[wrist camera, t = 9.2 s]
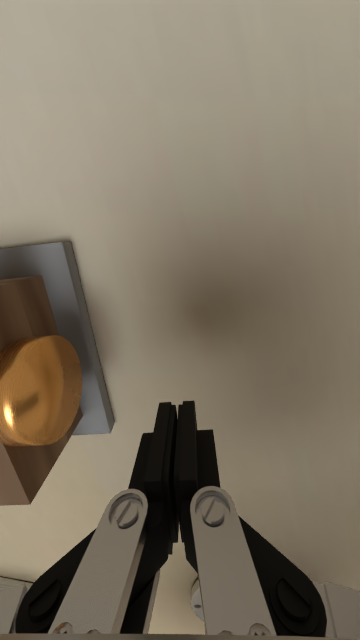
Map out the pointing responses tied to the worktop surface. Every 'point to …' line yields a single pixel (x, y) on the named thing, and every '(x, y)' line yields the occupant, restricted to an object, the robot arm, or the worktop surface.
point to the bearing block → (45, 320)
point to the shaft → (38, 390)
